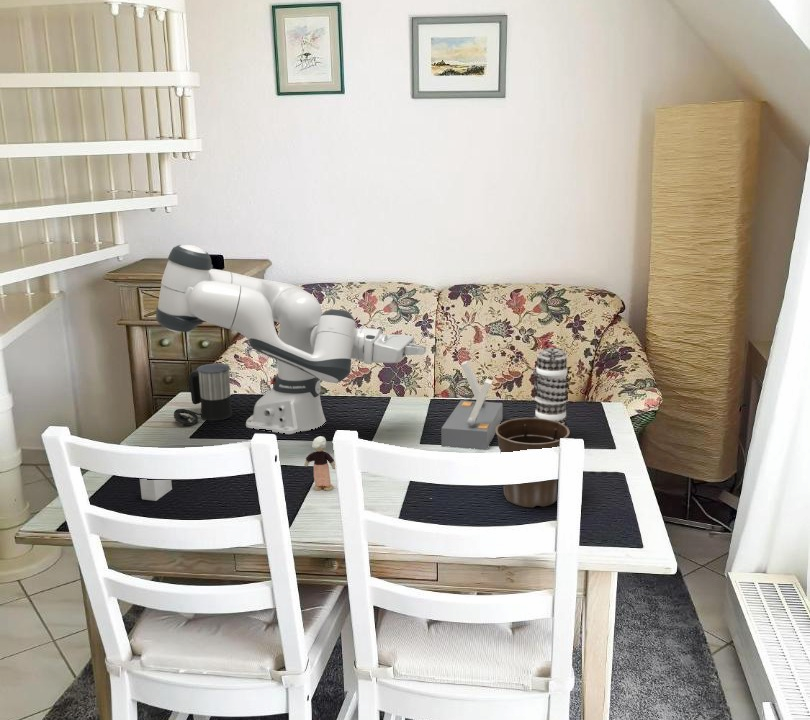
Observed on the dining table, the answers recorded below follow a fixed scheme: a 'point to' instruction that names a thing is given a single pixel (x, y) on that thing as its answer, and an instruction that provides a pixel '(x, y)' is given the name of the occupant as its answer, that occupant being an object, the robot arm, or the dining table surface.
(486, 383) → the switch lever
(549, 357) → the decorative candle
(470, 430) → the switch unit
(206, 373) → the milk frother
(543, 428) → the plant pot
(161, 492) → the light grey rectangular block
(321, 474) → the grandmother figurine
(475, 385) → the switch lever
